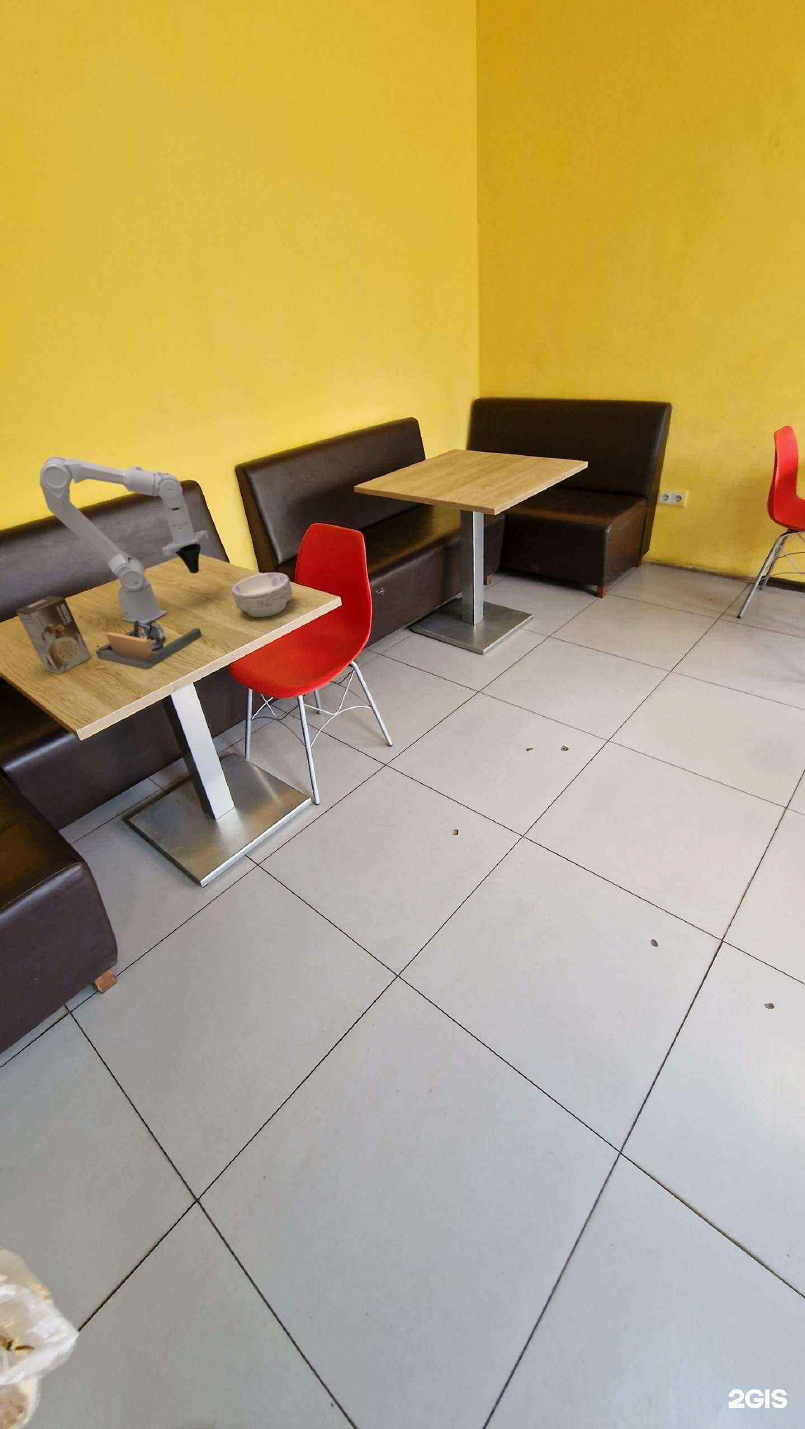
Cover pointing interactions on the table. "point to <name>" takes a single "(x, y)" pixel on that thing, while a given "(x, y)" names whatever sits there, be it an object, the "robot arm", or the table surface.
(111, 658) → the rail track
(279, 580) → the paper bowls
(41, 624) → the coffee box
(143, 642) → the plate
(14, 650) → the table surface
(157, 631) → the snack package
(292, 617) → the table surface
